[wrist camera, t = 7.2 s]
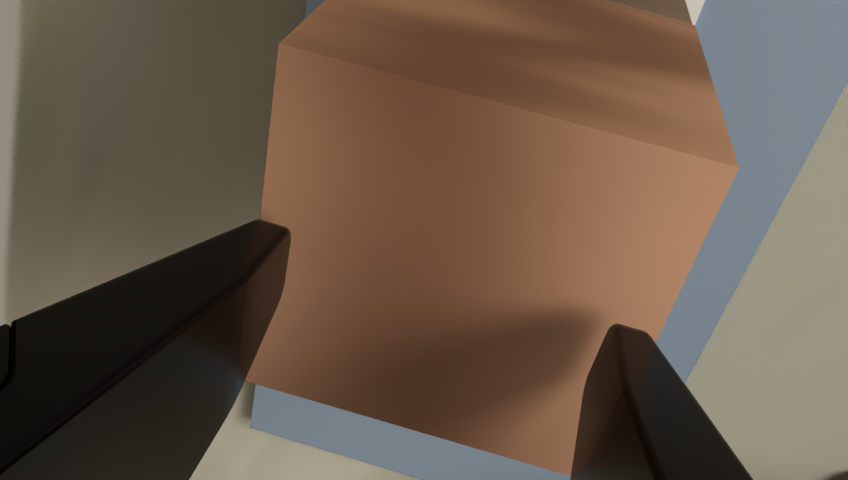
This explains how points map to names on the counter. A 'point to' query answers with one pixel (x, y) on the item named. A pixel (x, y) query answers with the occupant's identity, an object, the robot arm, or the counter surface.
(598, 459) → the robot arm
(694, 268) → the board
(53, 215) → the counter surface
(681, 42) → the terracotta block
